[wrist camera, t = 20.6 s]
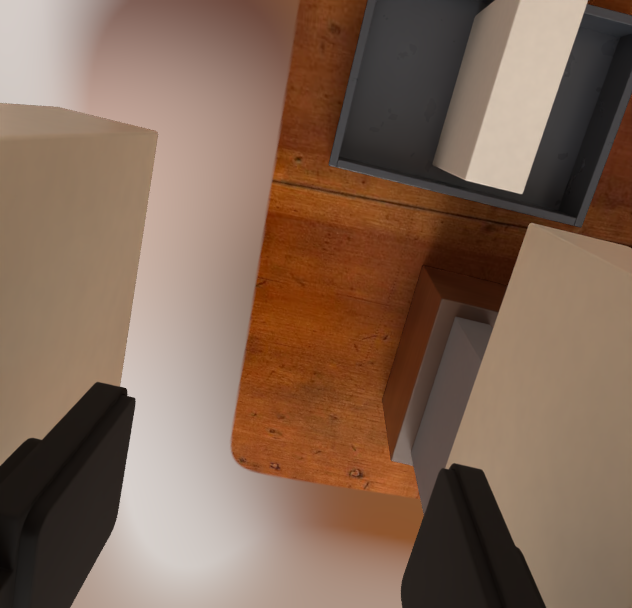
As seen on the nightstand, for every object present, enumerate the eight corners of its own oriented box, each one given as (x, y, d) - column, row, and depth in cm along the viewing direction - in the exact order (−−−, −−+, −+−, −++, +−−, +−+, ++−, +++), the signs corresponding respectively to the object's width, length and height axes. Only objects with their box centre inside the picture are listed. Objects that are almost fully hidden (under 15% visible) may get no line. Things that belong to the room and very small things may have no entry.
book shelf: (381, 401, 54) (390, 461, 44) (422, 264, 50) (441, 298, 40) (593, 450, 54) (647, 520, 45) (649, 319, 51) (722, 365, 41)
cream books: (22, 439, 20) (-402, 856, 9) (56, 105, 17) (-546, 63, 5) (506, 550, 21) (713, 1087, 9) (627, 245, 17) (1182, 478, 6)
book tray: (329, 161, 48) (328, 165, 43) (375, -32, 44) (379, -50, 39) (558, 217, 48) (581, 227, 44) (625, 32, 44) (658, 22, 40)
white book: (431, 165, 47) (464, 180, 34) (474, 15, 44) (528, -28, 31) (474, 175, 47) (522, 194, 34) (521, 27, 44) (592, -11, 31)
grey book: (410, 453, 44) (434, 570, 32) (455, 316, 41) (499, 391, 29) (443, 460, 44) (479, 580, 33) (490, 324, 41) (548, 403, 29)
